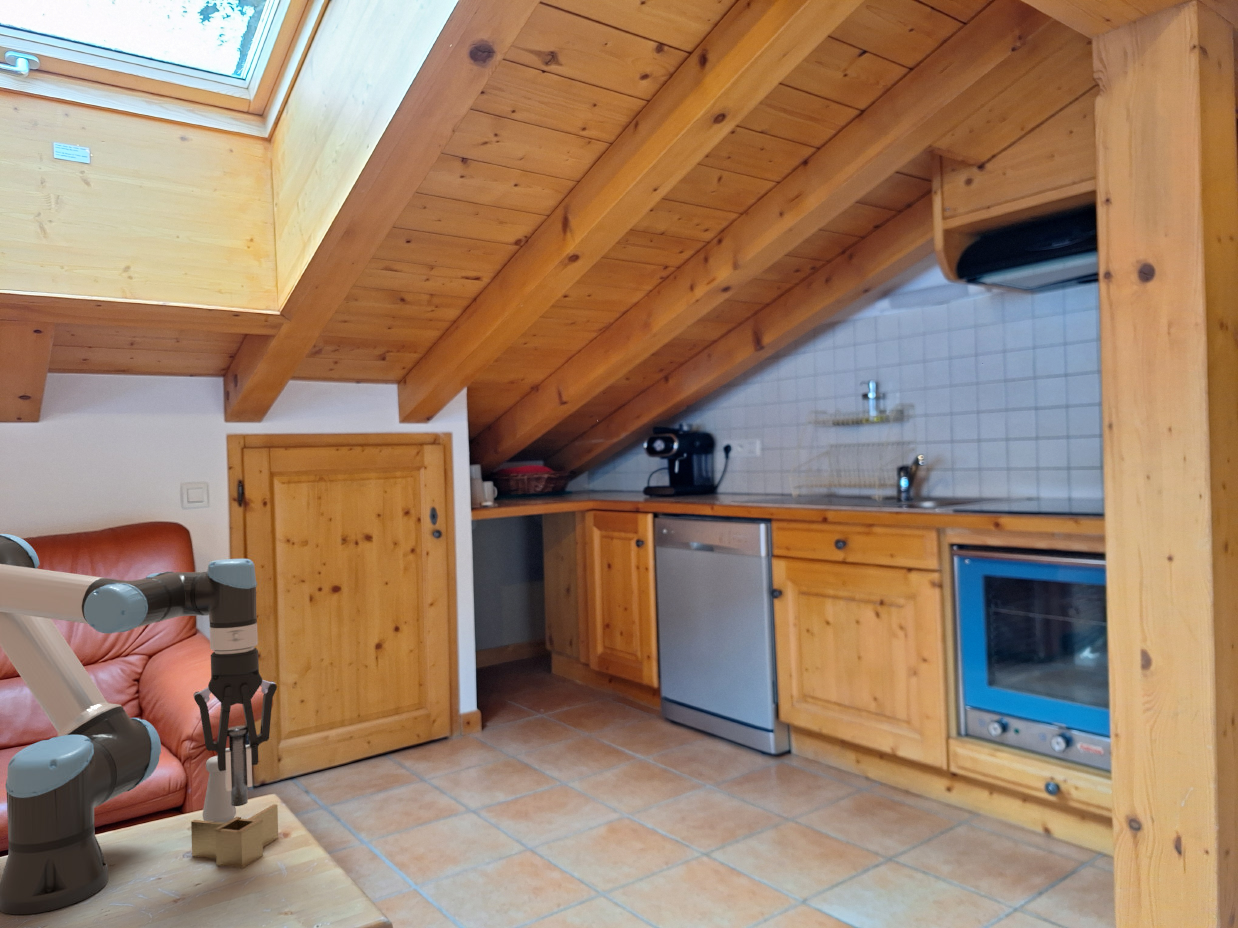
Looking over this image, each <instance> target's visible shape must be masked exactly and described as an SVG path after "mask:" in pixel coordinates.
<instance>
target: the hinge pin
mask: <svg viewBox="0 0 1238 928" xmlns="http://www.w3.org/2000/svg"><path fill="white" fill-rule="evenodd" d="M246 735H248V728H247V726H246V725H235V726H231V727H228V733H227V737H228V745H229V746H228V748H229V750H230V752H231V783H232V790H231V805H232V806H235V807H241V806H244V805H246V804H248V801H249V800H248V787H247V769H246V745H247V742H246V741H247V739H246V737H247V736H246Z"/></svg>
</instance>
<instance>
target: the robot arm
mask: <svg viewBox="0 0 1238 928" xmlns="http://www.w3.org/2000/svg"><path fill="white" fill-rule="evenodd" d="M40 564H41V563H40V560H39V557H38V554H37V553H36V551H35V549H34V548H33V547H32V546H31V544H29V543H28V542H27V541H26V540H24V539H23V538H22V537H19V536H17V535H13V534H9V533H0V648H1V650H3V651H2V652H4V653H5V656H6V657H7V659H8V660H9V661H10V663H11V664H12V666H13V667H14V669H15V671H16V672H17V673H18V675H19V676H20V677H21V680H22V681H23V682H24V683H25V685H26V687H27V688H28V690H29V691H30V692H31V695H32V696H33V697H34V699H35V700H36V702H37V703H38V705H39V706H40V708H41V709H42V711H43V712H44V714H45V715H46V717H47V718H48V720H49V721H50V723H51V724H52V725H53V727H54V729H55V730H56V731H57V736H54V737H50V738H49V739H44V740H40V741H38V742H35V743H32V744H30V745H28V746H26V747H24V748H22V749H21V750H19V751H18V752H17V753H15V754H14V755H13V756H12V758H11V759H10V760H9V762H8V764H7V771H6V772H7V773H6V775H7V776H6V777H7V778H6V780H5V791H6V808H7V811H6V812H7V834H8V835H7V836H8V838H7V839H8V855H7V858H6V861H5V865H4V868H3V872H2V874H1V880H0V912H2V913H5V914H9V915H30V914H31V915H33V914H38V913H44V912H49V911H53V910H58V909H61V908H65V907H67V906H70V905H73V904H76V903H78V902H81V901H83V900H86V899H87V898H89V897H92V896H93V895H95V894H96V893H98V892H99V891H100V890H102V889H103V888H104V887H105V886H106V885H107V883H108V881H109V865H108V862H107V861H106V859H105V857H104V853H103V852H102V851H103V850H102V848H101V846H100V843H99V841H98V839H97V837H96V834H95V831H96V830H95V808H96V807H98V806H101V805H103V804H104V803H106V802H108V801H110V800H112V799H115V798H116V797H118V796H120V795H121V794H123V793H126V792H130V791H132V790H133V789H135V788H136V787H137V786H140V784H141V783H143V782H144V781H146V780H147V779H149V778H150V777H151V776H152V774H153V773H154V772H155V770H156V769H157V767H158V765H159V763H160V756H161V753H162V746H161V745H162V744H161V739H160V735H159V733H158V731H157V730H156V728H155V727H154V725H153V724H152V723H150V721H147V720H146V719H141V718H139V717H130V715H129V714H128V712H126V710H125V709H124V707H123V706H122V705H121V704H117V703H112V702H111V703H110V702H108V701H107V699H106V698H105V696H104V695H103V693H102V692H101V691H100V690H99V688H98V687H97V685H96V683H95V682H94V681H93V679H92V677H91V676H90V674H89V673H88V672H87V670H86V669H85V667H84V665H83V664H82V663H81V661H80V660H79V658H78V657H77V655H76V653H75V652H74V650H73V649H72V648H71V645H69V643H68V641H66V639H65V638H64V635H63V634H62V633H61V631H60V630H59V628H58V627H57V626H56V624H55V622H54V621H53V620H59V621H66V622H72V623H78V624H79V623H80V624H85V625H86V624H87V625H89V626H90V627H92V629H94V630H95V631H96V632H98V633H102V634H105V635H106V634H107V635H108V634H109V635H110V634H114V633H125V632H128V631H131V630H135V629H137V628H140V627H144V626H147V625H151V624H154V623H160V622H163V621H167V620H171V619H174V618H175V619H176V618H179V617H188V616H189V617H190V616H201V617H202V616H208V621H209V646H210V647H209V648H210V649H211V651H213V652H211V654H210V673H211V674H210V679H209V680H210V681H209V682H208V686H207V687H205V688H204V689H202V690H201V691H195V692H194V693H193V699H194V701H195V703H196V705H197V706H198V709H199V715H200V721H201V726H202V733H203V740H204V745H205V749H206V750H207V751H209V752H211V751H212V752H216V754H217V755H216V756H217V760H218V769H219V771H225V787H226V790H227V791H231V790H232V783H231V752H230V750H229V747H227V741H228V736H227V733H228V728H229V722H230V713H231V707H232V706H234V705H237V704H238V705H239V704H240V705H242V708H243V709H242V710H243V714H244V720H245V726H247V728H248V733H247V737H248V743H249V744H246V769H247V788H251V787H253V766H257V765H258V764H259V746H260V744H262V743H264V742H268V741H269V739H270V732H271V718H272V710H273V709H272V708H273V697H274V695H275V693H276V690H277V689H278V686H277V684H276V682H274V681H273V680H272V681H268V680H264V679H263V677H262V676H261V674H260V670H259V669H260V668H259V666H260V665H259V663H260V662H259V649H257V648H256V646H258V644H259V640H258V639H259V637H258V617H257V586H258V583H257V579H256V577H257V576H256V567H255V566H256V565H255V563H254V561H252V559H249V558H227V559H225V558H224V559H218V560H217V559H215V560H212V561H209V563H208V564H207V571H200V572H197V571H193V572H192V571H191V572H190V571H187V572H186V571H183V572H181V571H179V572H178V571H177V572H174V571H163V572H156V573H151V574H148V575H147V576H146V577H145V578H140V579H134V580H123V579H116V578H106V577H100V576H94V575H87V574H80V573H79V574H78V573H72V572H71V573H70V572H63V571H57V570H48V569H41V568H38V566H40ZM260 687H261V692H262V694H263V697H262V705H261V706H262V708H261V718H260V728H259V729H260V730H259V731H260V732H259V734H258V733H257V729H256V723H255V718H254V713H253V706H252V699H253V697H254V695H255V694H256V693H257V691H258V690H259V689H260ZM211 694H212V695H213V696H214V697H215V699H217V700H218V702H219V703H220V711H219V723H218V733H217V741H214V737H213V731H212V726H211V718H210V712H209V706H208V704H207V703H208V702H210V695H211Z"/></svg>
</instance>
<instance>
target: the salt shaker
mask: <svg viewBox="0 0 1238 928" xmlns="http://www.w3.org/2000/svg"><path fill="white" fill-rule="evenodd" d="M205 769H206V771H207V772H209V775H208V779H207V780H208V781H207V784H206V785H207V787H206V792H205V798H204V803H203V809H202V819H203V821H212V822H223V823H226V822H228V821H230V820H232V819H234V818H235V817H236V814H237V808H236V806H232V805H231V791H227V790H226V787H225V771H219V769H218V760H217V755H215V756H211V757H209V758H208V759H207V760H206V763H205Z"/></svg>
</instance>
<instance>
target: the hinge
mask: <svg viewBox="0 0 1238 928" xmlns="http://www.w3.org/2000/svg"><path fill="white" fill-rule="evenodd" d="M278 807H279V806H278V803H277V804H276V803H274V804H271V805H270V806H268V807H266V808H264V809H263V810H261V811H258V812H257V813H255V814H254V815H252V816H250V817H248V818H242V816H235V817H234V819H232V820H230V821H228V822H226V823H223V822H212V821H204V820H201V819H200V820H199V819H193V820H192V821H191V822H190V823H191V824H190V829H191V856H192V857H197V858H206V859H215V860H216V861H215V862H216V866H217V867H218V866H219V867H227V868H236V869H244V868H245V867H247V866H248V865H250V864H251V863H253V862H255V861H256V860H258V859H259V858H261V857H263V855H264V847H266V846H267V845H269V844H270V843H272V842H273V841H275V840H277V839H279V817H278V816H279V814H278Z"/></svg>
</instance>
